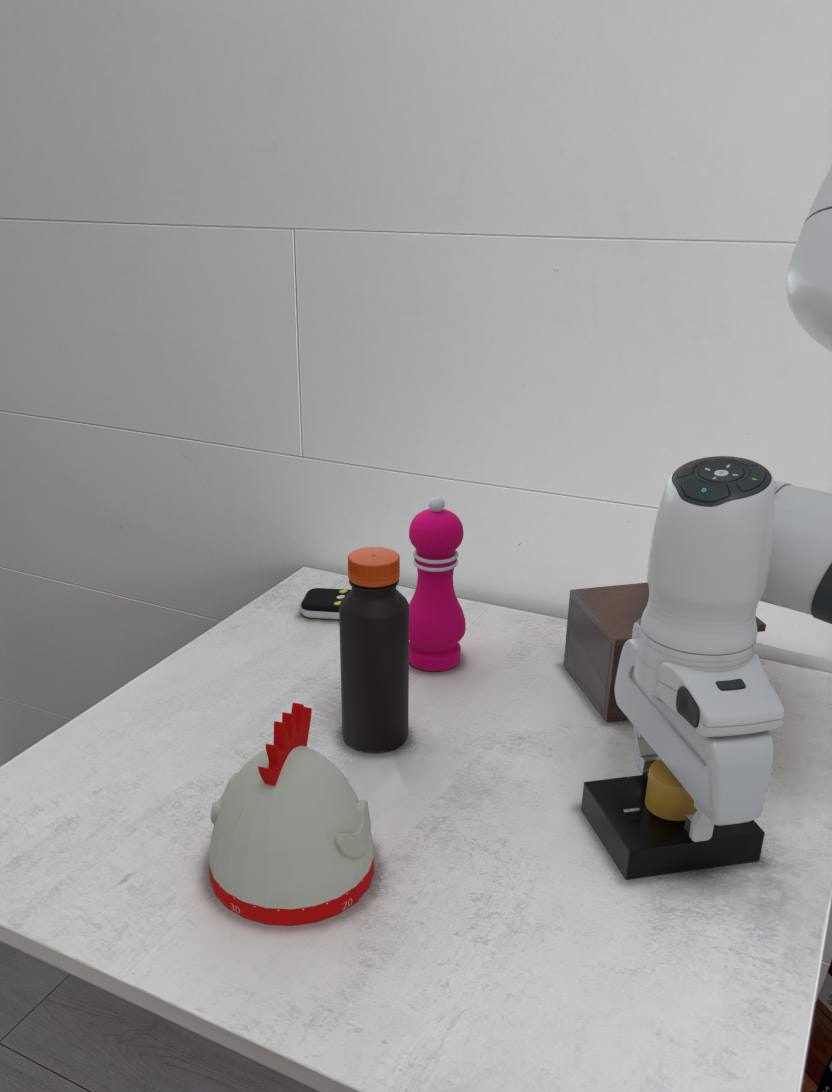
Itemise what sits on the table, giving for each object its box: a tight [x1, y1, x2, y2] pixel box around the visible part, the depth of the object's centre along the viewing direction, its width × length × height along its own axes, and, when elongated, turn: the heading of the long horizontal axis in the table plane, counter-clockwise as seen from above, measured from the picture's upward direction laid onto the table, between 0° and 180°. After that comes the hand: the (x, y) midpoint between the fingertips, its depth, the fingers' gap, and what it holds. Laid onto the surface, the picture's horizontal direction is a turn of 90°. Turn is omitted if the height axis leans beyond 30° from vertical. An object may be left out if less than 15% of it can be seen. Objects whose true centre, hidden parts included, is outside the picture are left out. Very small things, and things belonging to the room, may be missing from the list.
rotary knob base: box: [580, 774, 766, 880], centre depth 90 cm, size 12×10×3 cm
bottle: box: [338, 546, 410, 753], centre depth 101 cm, size 7×7×20 cm
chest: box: [563, 596, 759, 723], centre depth 112 cm, size 16×13×9 cm
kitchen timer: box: [208, 702, 375, 927], centre depth 84 cm, size 14×14×15 cm
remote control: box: [300, 587, 352, 620], centre depth 132 cm, size 6×13×2 cm, turn 80°
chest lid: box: [569, 582, 767, 647], centre depth 109 cm, size 16×13×5 cm
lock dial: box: [645, 759, 697, 821], centre depth 88 cm, size 4×4×4 cm
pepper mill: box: [408, 495, 467, 672], centre depth 116 cm, size 7×7×20 cm
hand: (671, 802), depth 89 cm, fingers open, 8 cm apart
